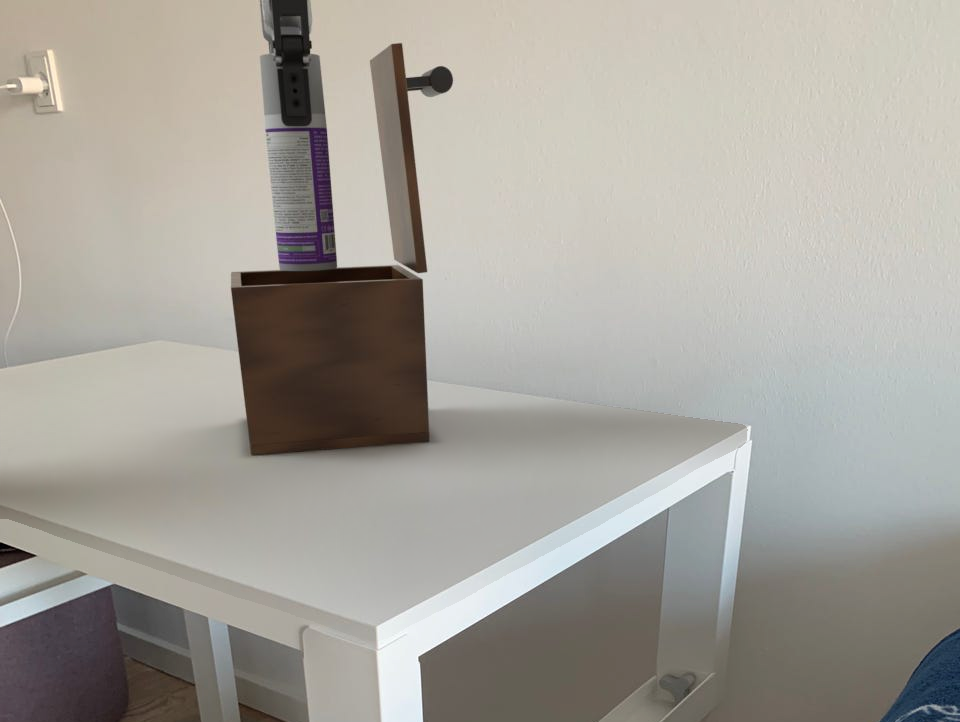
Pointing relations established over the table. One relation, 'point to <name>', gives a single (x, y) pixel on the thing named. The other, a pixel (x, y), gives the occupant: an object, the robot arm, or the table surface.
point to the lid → (402, 148)
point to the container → (299, 176)
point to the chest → (331, 357)
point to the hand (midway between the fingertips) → (295, 125)
